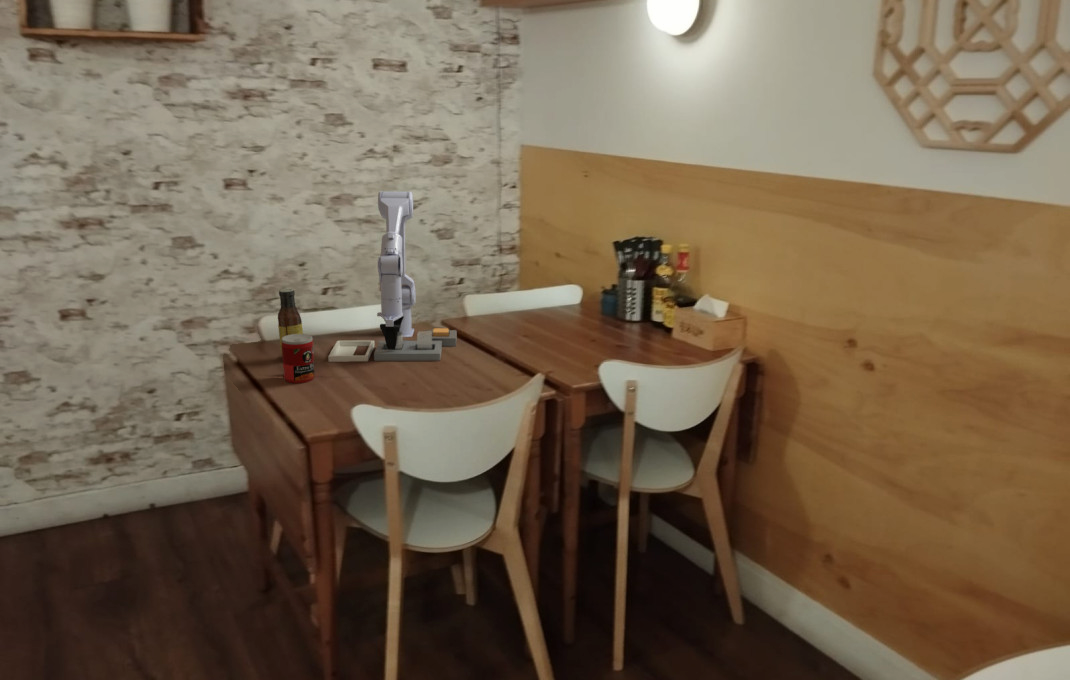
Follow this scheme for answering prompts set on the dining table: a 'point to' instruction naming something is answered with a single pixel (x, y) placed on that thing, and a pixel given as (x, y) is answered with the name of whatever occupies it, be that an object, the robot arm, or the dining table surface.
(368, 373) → the dining table surface
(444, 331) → the button
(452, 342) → the button housing
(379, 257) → the robot arm
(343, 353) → the tray
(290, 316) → the sauce bottle
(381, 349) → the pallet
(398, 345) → the steel block
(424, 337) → the block
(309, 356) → the canned food
